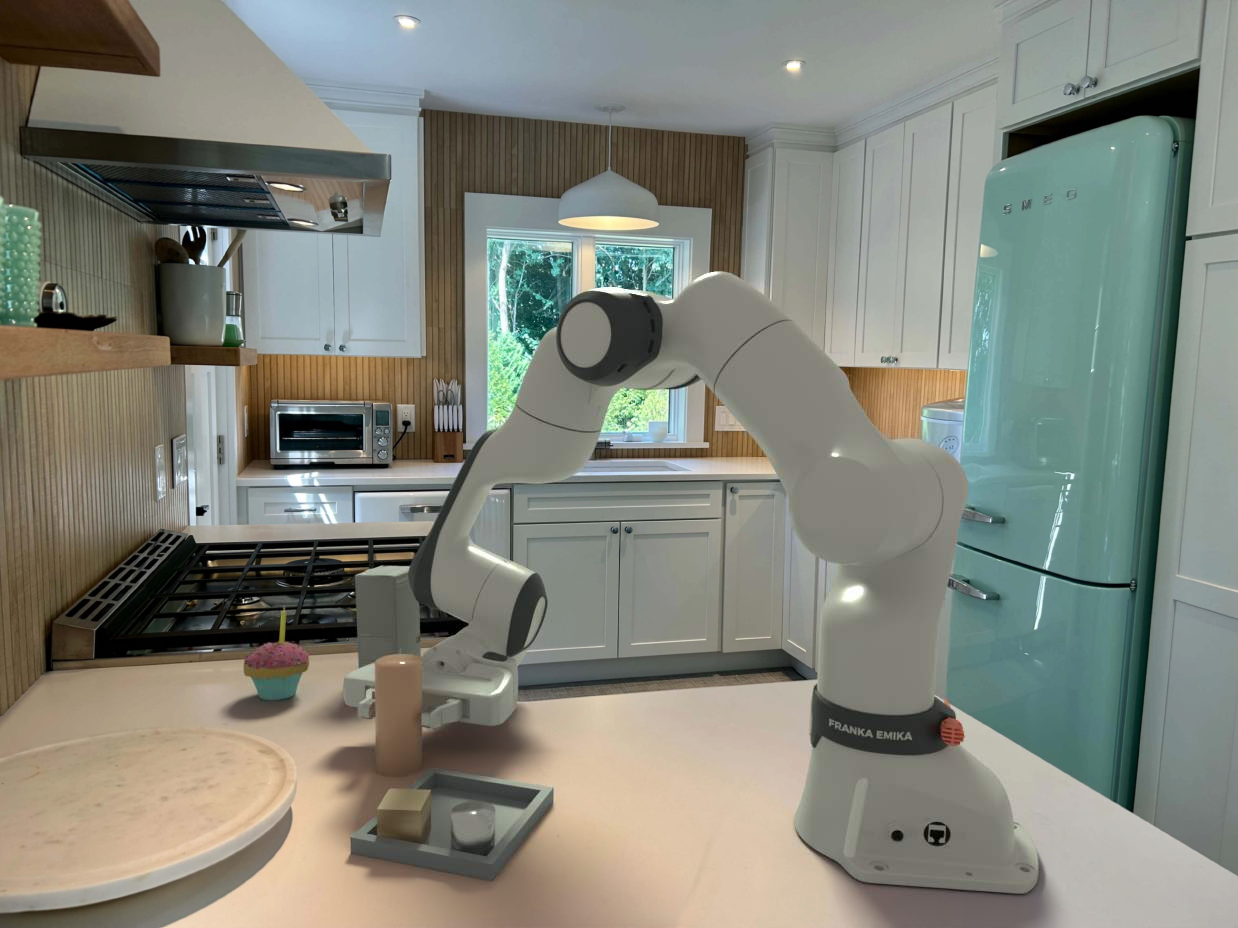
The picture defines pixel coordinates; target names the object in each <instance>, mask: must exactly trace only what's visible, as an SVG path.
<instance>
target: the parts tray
mask: <svg viewBox="0 0 1238 928" xmlns="http://www.w3.org/2000/svg"><path fill="white" fill-rule="evenodd" d="M406 789H419V790H431V831H430V833H429V835H428V838H427V840H426V842H425V844H418V843H413V842H408V841H403V840H397V839H392V838H387V837H382V836H377V814H375V815H374V816H373V817H372V818H371V819H370V820H368V821H367V822H366V823H365V824H364V825H363V826H362V827H360V828H359V829H358V830H357V831H356V832H354V833H353V834H352V835H351V836H350V837H349V838H350V839H349V840H350V854H351V855H356V856H357V855H358V856H360V857H361V856H362V857H367V858H373V859H377V860H383V861H387V862H390V863H391V862H392V863H397V864H401V865H407V866H413V867H418V868H422V869H428V870H434V871H437V872H441V873H442V872H444V873H448V874H452V875H458V876H463V877H468V878H471V879H479V880H482V881H488V882H493V881H494V879H496V877H497V876H498V875H499V873H500V872H501V871H502V870H503V868H504V866H505V865H506V864H507V863H508V862H509V860H510V859H511V857H513V855H514V854H515V853H516V851H517V850H518V849H519V847H520V846H521V845H522V843H523V842H524V841H525V839H526V838H527V837H529V835H530V833H531V832H532V830H533V829H534V828H535V827H536V825H537V824H538V823H539V821H540V820H541V819H542V817H543V816H544V815H545V813H547V811H548V810H549V809H550V808H551V806H552V804H553V803H554V799H555V797H554V796H555V795H554V793H555V791H554V787H553V786H547V785H542V784H541V785H540V784H536V783H530V782H529V783H528V782H524V781H516V780H510V779H504V778H498V777H491V776H485V775H479V774H473V773H466V772H462V771H461V772H460V771H455V770H448V769H442V768H437V767H436V768H435V767H430V768H429V769H428V770H426V771H425V772H424V773H422V774H421V775H420V776H419V777H418V778H417V779H415V780H414V781H413V782H412V783H411V784H410V785H408V787H407V788H406ZM468 801H484V802H488V803H490V804H492V805H493V806H494V807H495V847H494V848H493V849H492V850H491V852H490V853H489V854H488V855H487V856H482V855H476V854H471V853H466V852H460V851H455V850H451V810H452V809H453V808H454V807H455V806H456V805H458V804H460V803H463V802H468Z"/></svg>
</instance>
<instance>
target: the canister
mask: <svg viewBox="0 0 1238 928" xmlns="http://www.w3.org/2000/svg"><path fill="white" fill-rule="evenodd" d="M421 715H422V659H421V658H420V657H419V656H416V655H411V654H394V655H388V656H384V657H381V658H379V659H377V660H376V661H375V717H374V721H375V722H374V723H375V724H374V726H375V727H374V728H375V729H374V731H375V733H374V735H375V736H374V737H375V738H374V739H375V771H376V773H378V774H379V775H381V776H384V777H388V778H389V777H390V778H400V777H407V776H410V775H413V774H415V773H417V772H418V771H420V770H421V769H422V767H423V727H422V725H421V722H422V719H421Z"/></svg>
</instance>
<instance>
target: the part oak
mask: <svg viewBox="0 0 1238 928" xmlns="http://www.w3.org/2000/svg"><path fill="white" fill-rule="evenodd" d="M376 815H377V836H382V837H387V838H392V839H397V840H403V841H408V842H413V843H418V844H425V842H426V840H427V838H428V835H429V833H430V831H431V790H419V789H407V788H388V790H387V792H386V794H385V795H384V796H383V798H382V800H381V801H380V803H379V805H378V806H377V809H376Z"/></svg>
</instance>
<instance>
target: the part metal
mask: <svg viewBox="0 0 1238 928" xmlns="http://www.w3.org/2000/svg"><path fill="white" fill-rule="evenodd" d="M494 847H495V807H494V806H493V805H492V804H490V803H488V802H484V801H468V802H463V803H460V804H458V805H456V806H455V807H454V808H453V809H452V810H451V850H455V851H460V852H466V853H471V854H476V855H482V856H487V855H488V854H489V853H490V852H491V850H492V849H493V848H494Z"/></svg>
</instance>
